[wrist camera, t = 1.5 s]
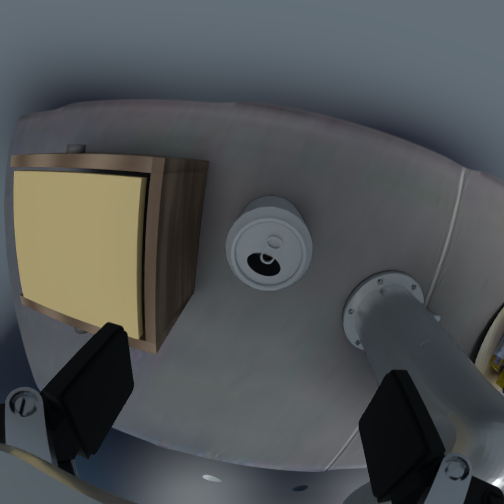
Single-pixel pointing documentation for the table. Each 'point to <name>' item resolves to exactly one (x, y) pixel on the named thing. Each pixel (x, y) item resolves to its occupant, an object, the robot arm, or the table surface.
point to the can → (269, 244)
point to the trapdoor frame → (148, 234)
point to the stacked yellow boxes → (493, 354)
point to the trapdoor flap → (82, 244)
